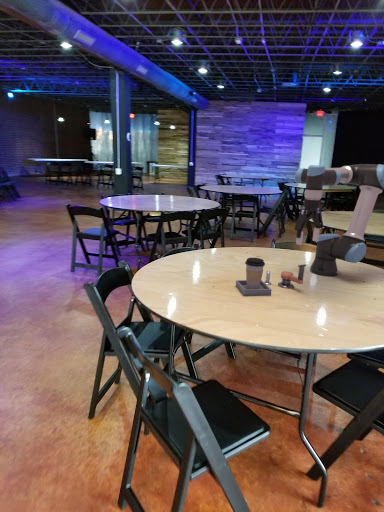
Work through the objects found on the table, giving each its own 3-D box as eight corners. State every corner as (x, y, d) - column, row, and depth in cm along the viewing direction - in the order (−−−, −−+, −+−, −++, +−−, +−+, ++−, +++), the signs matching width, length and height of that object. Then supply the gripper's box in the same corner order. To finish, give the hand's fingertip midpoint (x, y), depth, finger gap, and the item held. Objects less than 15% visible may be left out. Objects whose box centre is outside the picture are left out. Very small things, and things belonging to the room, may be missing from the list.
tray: (261, 285, 176) (261, 280, 175) (270, 295, 163) (271, 289, 163) (235, 285, 174) (236, 280, 173) (243, 296, 161) (244, 290, 160)
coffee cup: (262, 293, 163) (265, 263, 159) (242, 291, 165) (244, 261, 161) (262, 286, 172) (265, 258, 168) (243, 284, 174) (245, 256, 170)
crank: (278, 276, 178) (280, 259, 175) (286, 275, 180) (288, 258, 178) (297, 284, 166) (299, 266, 164) (305, 283, 169) (308, 264, 167)
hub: (289, 282, 182) (290, 275, 181) (296, 288, 174) (297, 280, 173) (275, 283, 181) (276, 275, 180) (281, 288, 173) (282, 281, 172)
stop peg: (269, 282, 182) (270, 270, 180) (272, 284, 178) (273, 272, 176) (262, 282, 181) (263, 270, 179) (264, 284, 177) (266, 272, 176)
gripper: (320, 197, 171) (315, 238, 177) (289, 199, 156) (284, 244, 162) (334, 198, 165) (328, 241, 171) (303, 201, 151) (298, 247, 156)
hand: (307, 242), depth 167 cm, fingers open, 13 cm apart
